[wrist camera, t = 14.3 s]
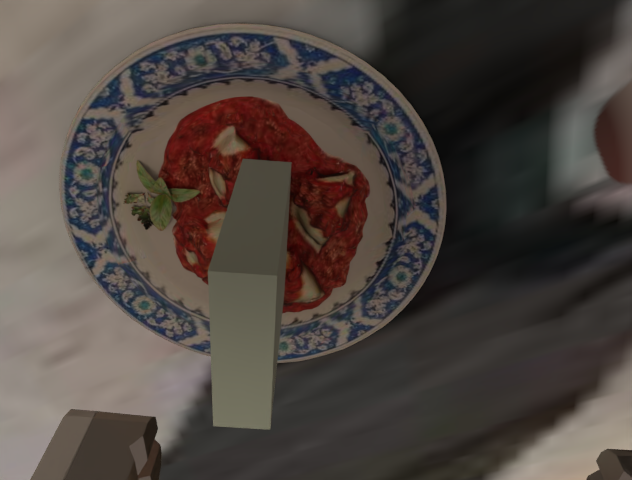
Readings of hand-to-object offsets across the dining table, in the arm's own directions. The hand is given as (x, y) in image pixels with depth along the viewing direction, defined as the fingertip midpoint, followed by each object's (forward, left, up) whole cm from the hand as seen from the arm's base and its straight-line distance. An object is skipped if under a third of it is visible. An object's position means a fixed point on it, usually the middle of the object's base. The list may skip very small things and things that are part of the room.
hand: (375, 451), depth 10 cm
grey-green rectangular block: (+4, +11, -25) cm, 27 cm away
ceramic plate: (+5, +11, -28) cm, 31 cm away
